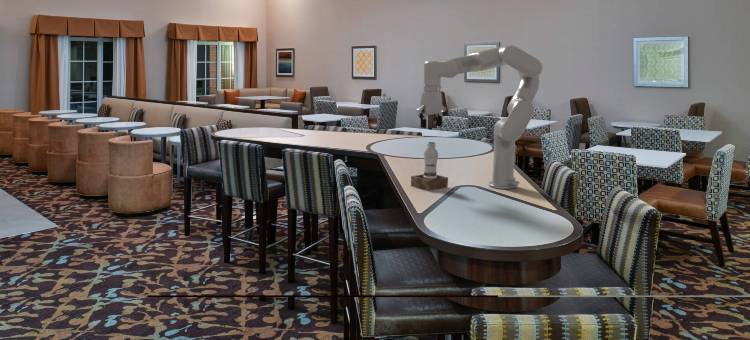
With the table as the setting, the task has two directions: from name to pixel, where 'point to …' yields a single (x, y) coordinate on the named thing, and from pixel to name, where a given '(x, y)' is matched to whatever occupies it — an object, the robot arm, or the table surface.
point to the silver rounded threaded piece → (430, 161)
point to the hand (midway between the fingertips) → (431, 126)
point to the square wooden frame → (429, 182)
